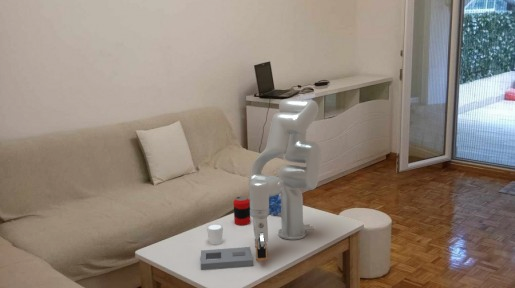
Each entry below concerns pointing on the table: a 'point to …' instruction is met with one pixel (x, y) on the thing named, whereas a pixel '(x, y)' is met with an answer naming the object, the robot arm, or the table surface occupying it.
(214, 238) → the white short cylinder
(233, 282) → the table surface
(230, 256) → the socket plate
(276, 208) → the grapes
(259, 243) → the block
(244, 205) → the soda can
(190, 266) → the table surface
